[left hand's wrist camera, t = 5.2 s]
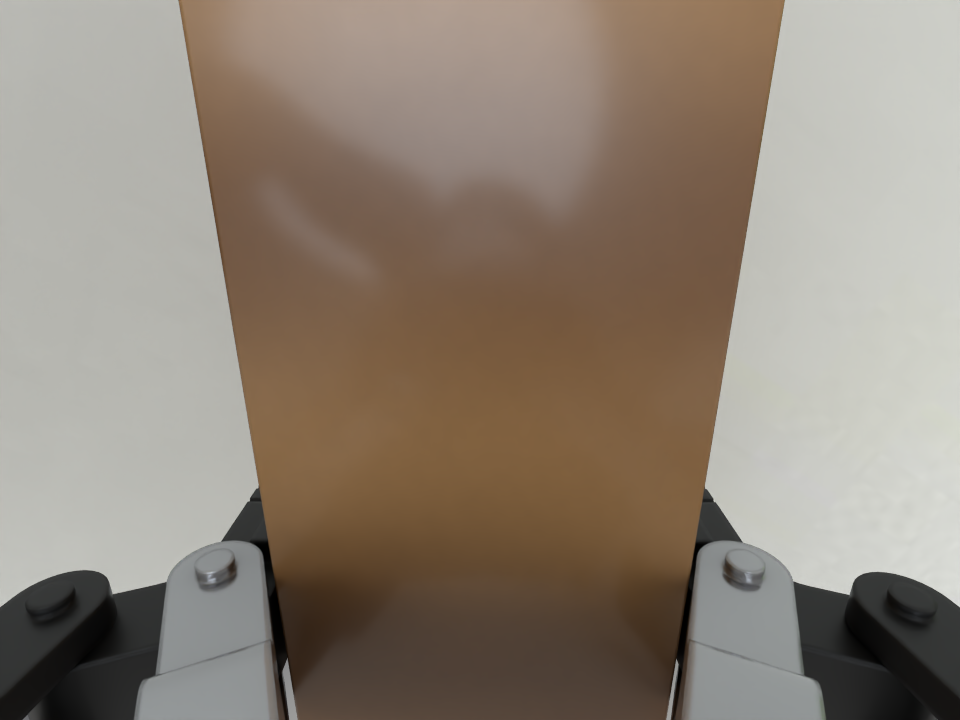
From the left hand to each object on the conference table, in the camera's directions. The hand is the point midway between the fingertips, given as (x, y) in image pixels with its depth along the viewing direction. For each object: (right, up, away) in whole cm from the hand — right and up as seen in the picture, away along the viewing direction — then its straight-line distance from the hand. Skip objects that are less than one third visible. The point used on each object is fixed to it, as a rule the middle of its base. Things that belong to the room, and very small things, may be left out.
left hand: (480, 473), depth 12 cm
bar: (0, +11, 0) cm, 11 cm away
